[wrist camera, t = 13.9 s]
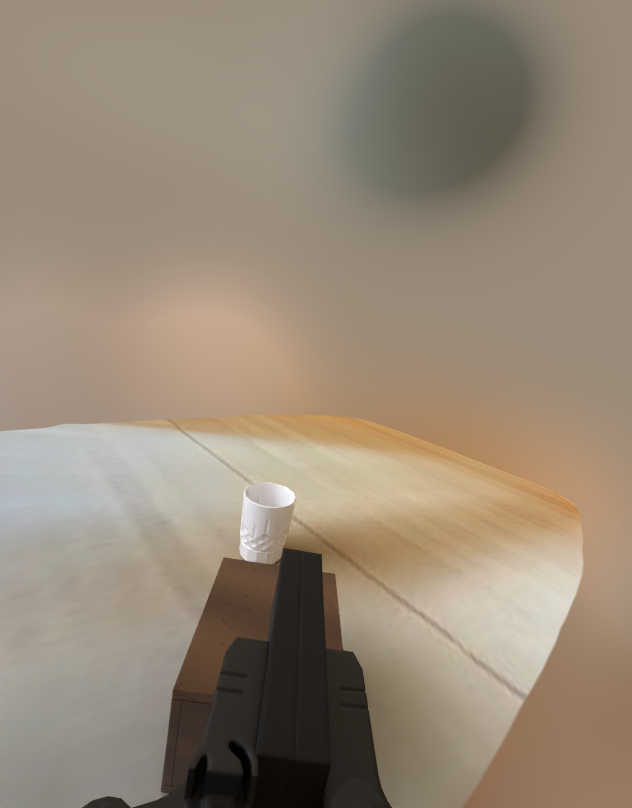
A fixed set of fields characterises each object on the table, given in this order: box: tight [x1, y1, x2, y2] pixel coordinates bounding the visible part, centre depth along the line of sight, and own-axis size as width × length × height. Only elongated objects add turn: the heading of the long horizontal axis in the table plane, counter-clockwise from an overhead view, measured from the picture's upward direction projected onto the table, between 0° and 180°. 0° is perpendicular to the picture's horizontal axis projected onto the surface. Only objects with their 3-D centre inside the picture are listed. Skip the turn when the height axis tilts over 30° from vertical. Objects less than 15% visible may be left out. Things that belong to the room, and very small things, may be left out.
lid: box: [172, 558, 343, 703], centre depth 31 cm, size 14×12×1 cm
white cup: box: [239, 482, 296, 564], centre depth 54 cm, size 8×8×10 cm
